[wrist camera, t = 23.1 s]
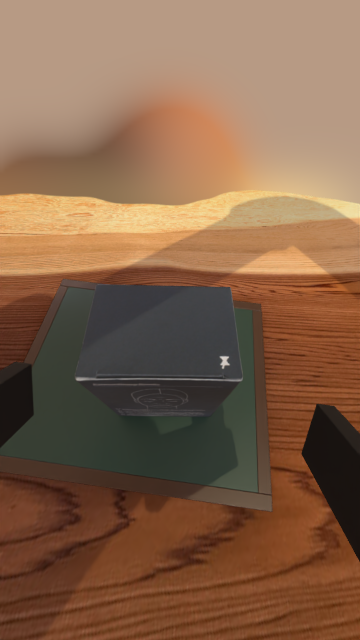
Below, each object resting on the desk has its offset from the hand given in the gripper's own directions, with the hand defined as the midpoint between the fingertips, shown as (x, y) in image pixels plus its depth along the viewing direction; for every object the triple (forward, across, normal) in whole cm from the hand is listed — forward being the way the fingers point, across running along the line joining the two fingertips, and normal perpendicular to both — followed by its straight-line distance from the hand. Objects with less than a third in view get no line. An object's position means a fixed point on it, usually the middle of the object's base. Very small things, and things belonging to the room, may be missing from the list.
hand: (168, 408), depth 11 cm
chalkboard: (+11, -3, -4) cm, 12 cm away
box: (+10, -1, -4) cm, 10 cm away
